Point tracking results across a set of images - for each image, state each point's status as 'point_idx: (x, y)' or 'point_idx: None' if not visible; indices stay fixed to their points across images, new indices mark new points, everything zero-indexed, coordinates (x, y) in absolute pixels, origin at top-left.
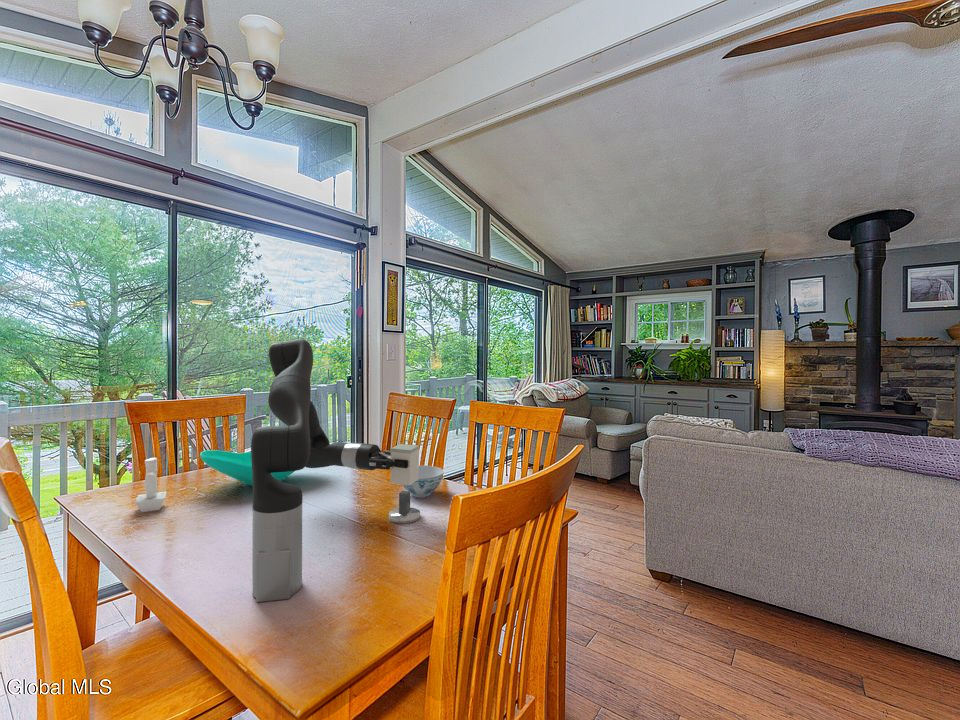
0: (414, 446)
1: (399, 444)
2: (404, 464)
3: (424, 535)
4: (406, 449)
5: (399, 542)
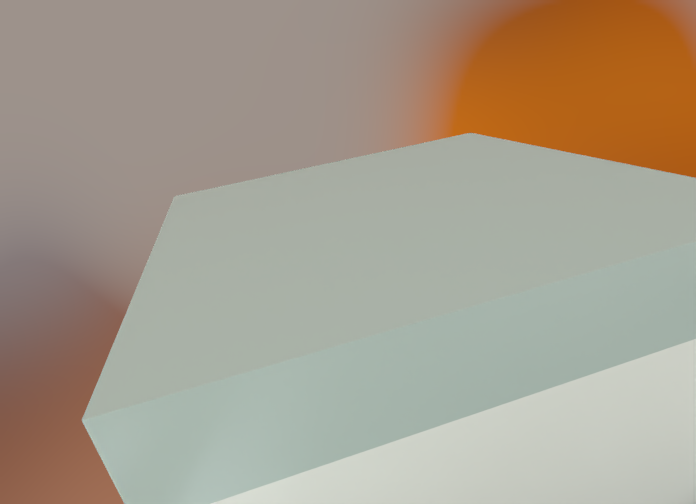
0: (257, 187)
1: (194, 385)
2: None
3: None
4: (489, 145)
5: None
